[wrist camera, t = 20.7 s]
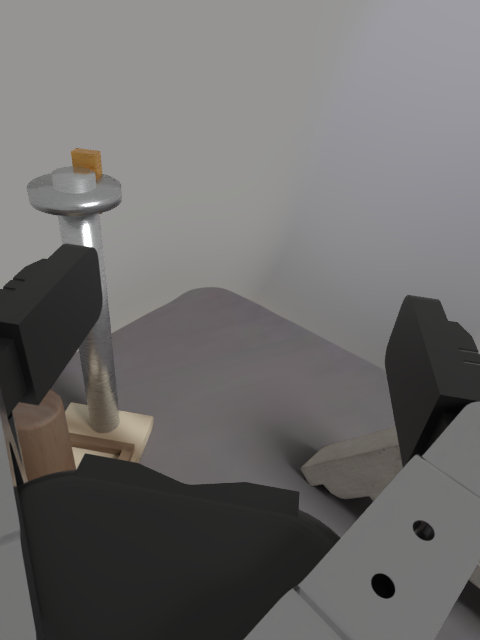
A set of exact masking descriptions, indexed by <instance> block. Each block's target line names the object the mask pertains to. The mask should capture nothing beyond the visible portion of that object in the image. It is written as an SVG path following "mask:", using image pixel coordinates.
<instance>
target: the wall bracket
mask: <svg viewBox="0 0 480 640" xmlns="http://www.w3.org/2000/svg"><path fill="white" fill-rule="evenodd" d="M402 469H403V466H402V460H401V454H400V449H399V443H398V437H397V431H396V427H392V428H388V429H385V430H381V431H378V432H374V433H370V434H367V435H363V436H360V437H356V438H353V439H349V440H345V441H342V442H338V443H335V444H331V445H327V446H324V447H322V448H321V449H320V450H319V451H318V452H317V453H316V454H315V455H314V456H313V457H312V458H310V459H309V460H308V461H307V462H306V463H305V464H304V465H303V466H302V467H301V468H300V470H301V472H302V473H303V475H304V476H305V478H306V480H307V481H308V483H309V484H310V485H311V486H316V485H322V484H323V485H324V486H325V487H326V488H327V489H328V490H329V492H330V493H332V494H333V495H335V496H337V497H338V498H342V499H352V498H360V497H368V496H370V498H371V499H372V501H374V500H375V499H376V498H377V497H378V496H379V495H380V494H381V492H382V491H383V490H384V489H385V488H386V487H387V486H388V485H389V483H390V482H391V481H392V480H393V479H394V478H395V477H396V476H397V474H398V473H399V472H400V471H401V470H402ZM469 581H471V582H472V583H473V584H474V585H475V586H477V587H478V588H479V589H480V561H479V563H478V564H477V566H476V568H475V569H474V571H473V573H472V575H471V576H470V578H469Z"/></svg>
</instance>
